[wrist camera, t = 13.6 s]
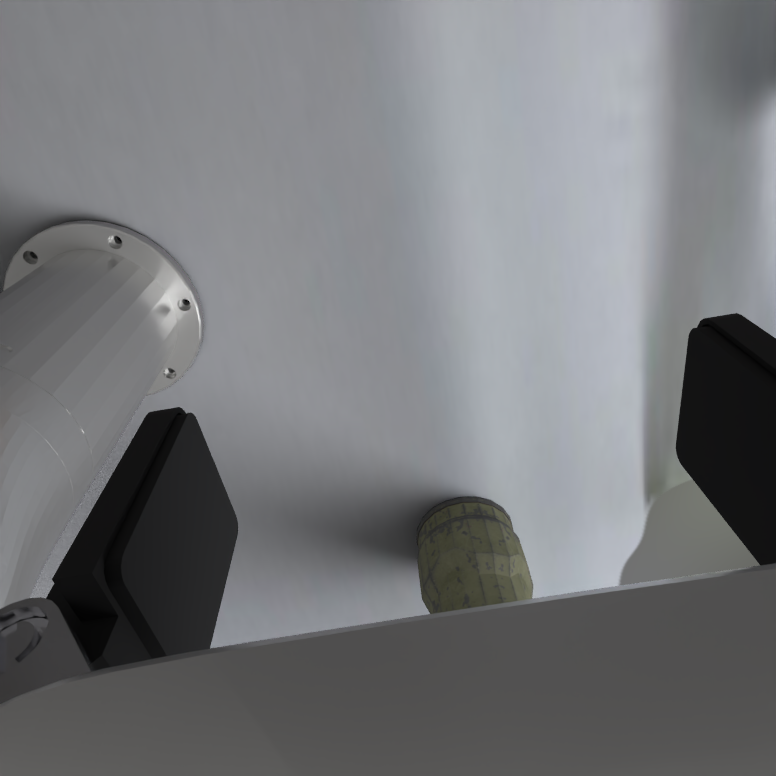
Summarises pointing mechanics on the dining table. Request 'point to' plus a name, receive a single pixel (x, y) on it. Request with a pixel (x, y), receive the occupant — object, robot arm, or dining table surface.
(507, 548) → the olive green tall cylinder
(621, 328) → the dining table surface
